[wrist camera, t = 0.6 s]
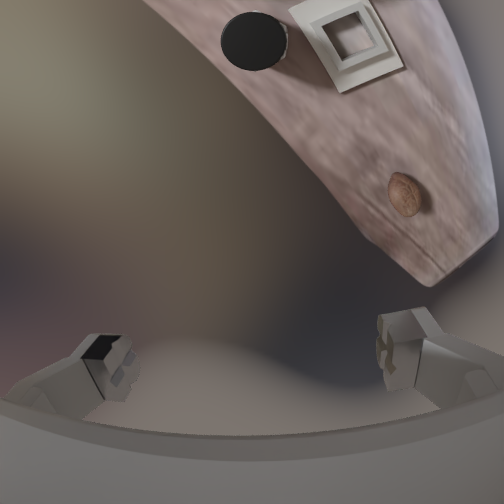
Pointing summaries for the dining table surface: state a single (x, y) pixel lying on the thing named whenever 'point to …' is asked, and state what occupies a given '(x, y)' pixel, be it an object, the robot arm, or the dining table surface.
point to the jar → (254, 41)
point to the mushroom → (404, 195)
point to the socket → (356, 65)
